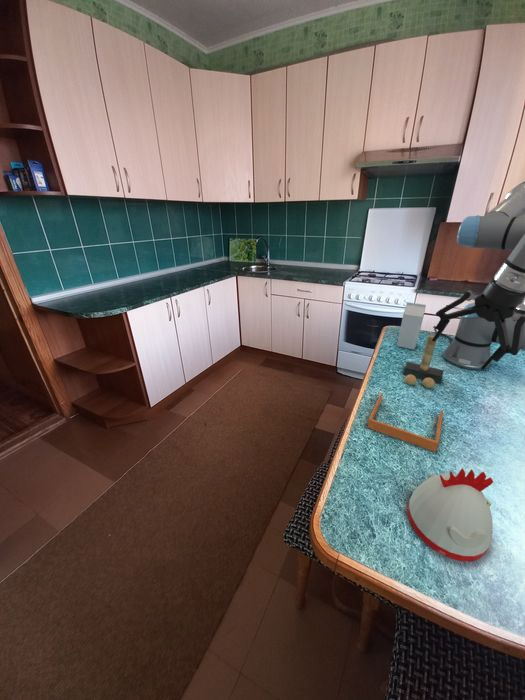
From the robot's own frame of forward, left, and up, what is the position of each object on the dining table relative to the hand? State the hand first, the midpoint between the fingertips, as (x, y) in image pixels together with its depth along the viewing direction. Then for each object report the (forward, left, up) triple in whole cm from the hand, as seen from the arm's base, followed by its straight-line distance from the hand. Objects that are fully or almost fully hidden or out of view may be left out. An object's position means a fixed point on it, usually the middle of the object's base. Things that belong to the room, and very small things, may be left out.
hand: (458, 352), depth 81 cm
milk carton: (-41, -16, -19) cm, 48 cm away
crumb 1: (-9, -10, -17) cm, 22 cm away
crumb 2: (-10, -5, -17) cm, 20 cm away
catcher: (+13, -8, -19) cm, 25 cm away
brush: (-17, -7, -19) cm, 26 cm away
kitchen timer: (+40, +4, -19) cm, 45 cm away
